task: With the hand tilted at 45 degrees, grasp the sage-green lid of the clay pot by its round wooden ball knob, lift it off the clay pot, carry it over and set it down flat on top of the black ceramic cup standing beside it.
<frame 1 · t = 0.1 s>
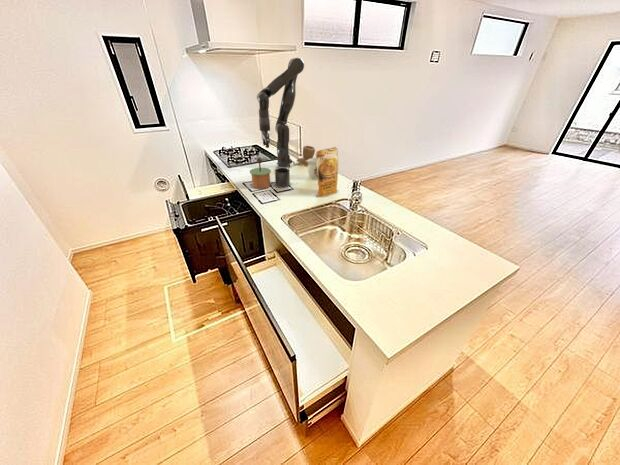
hand: (266, 146, 195), 17 cm above the worktop, tool pointing down, fingers open, 8 cm apart
pitcher: (316, 178, 189), on the worktop
clay pot: (261, 185, 174), on the worktop
lid: (260, 171, 169), point 9 cm above the worktop, touching clay pot
pancake mix bag: (326, 193, 165), on the worktop
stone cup: (306, 164, 215), on the worktop
cup: (282, 184, 176), on the worktop
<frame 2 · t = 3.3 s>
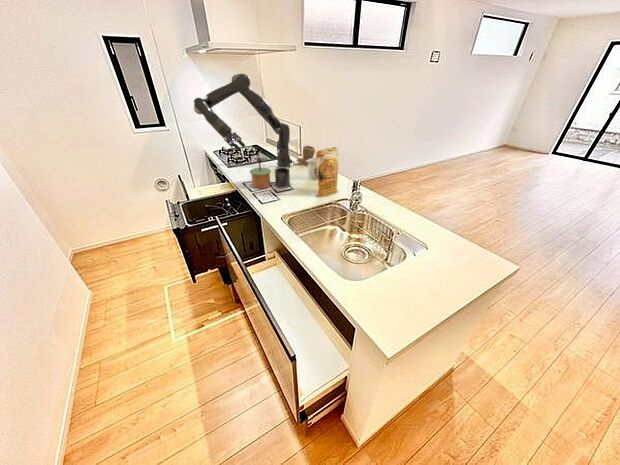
hand: (242, 148, 162), 24 cm above the worktop, tool tilted 45°, fingers open, 8 cm apart
nothing on the worktop moved.
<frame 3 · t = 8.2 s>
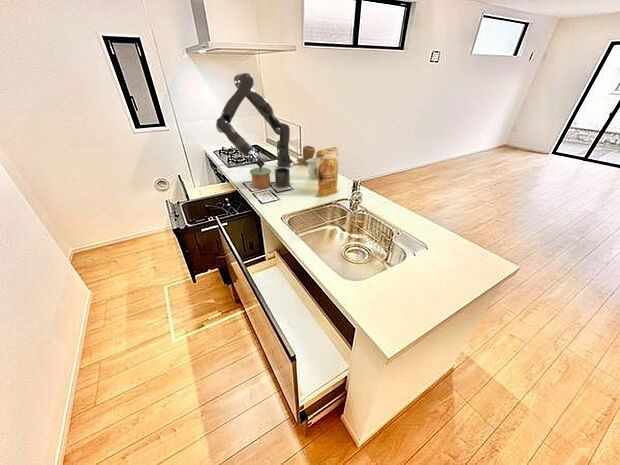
hand: (262, 165, 167), 14 cm above the worktop, tool tilted 45°, fingers closed on lid, 3 cm apart
lid: (260, 171, 169), point 9 cm above the worktop, touching gripper, clay pot
everything else where it was.
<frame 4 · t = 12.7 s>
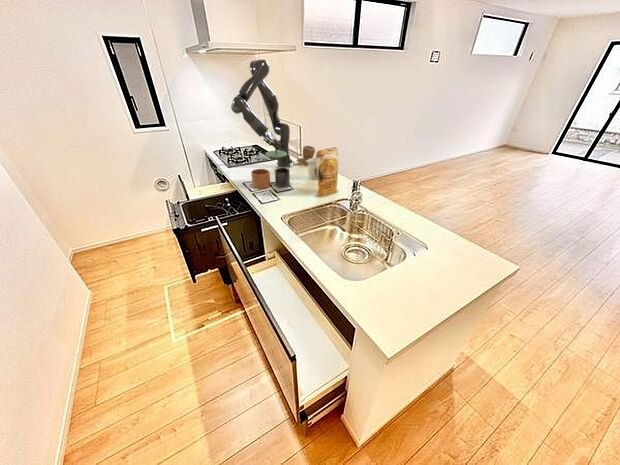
hand: (279, 148, 162), 25 cm above the worktop, tool tilted 45°, fingers closed on lid, 3 cm apart
lid: (276, 154, 165), point 21 cm above the worktop, touching gripper
everything else where it was.
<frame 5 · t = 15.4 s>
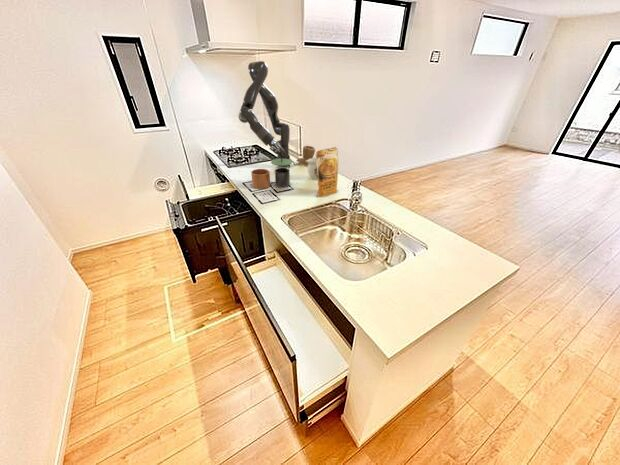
hand: (284, 156, 165), 19 cm above the worktop, tool tilted 45°, fingers closed on lid, 3 cm apart
lid: (281, 162, 168), point 15 cm above the worktop, touching gripper
everything else where it was.
when the fingers open (15 cm above the worktop, at t = 17.4 s): lid stays where it is, resting on cup.
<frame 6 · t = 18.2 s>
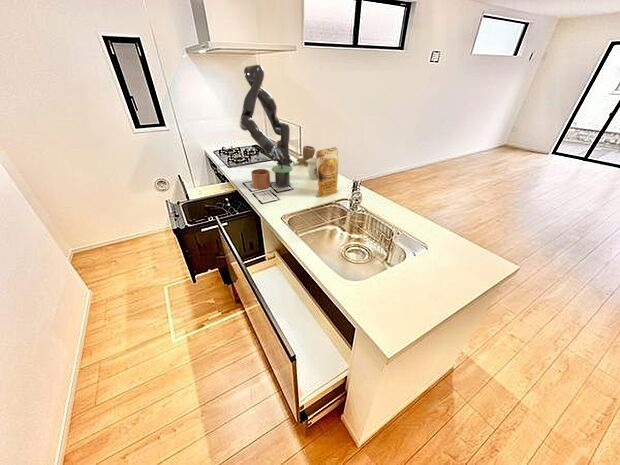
hand: (283, 162, 168), 15 cm above the worktop, tool tilted 45°, fingers open, 8 cm apart
lid: (282, 169, 170), point 11 cm above the worktop, touching cup
everything else where it was.
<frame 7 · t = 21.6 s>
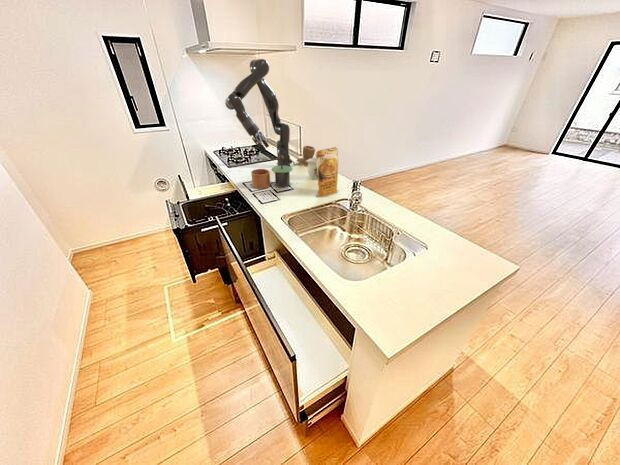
hand: (266, 148, 166), 23 cm above the worktop, tool tilted 35°, fingers open, 8 cm apart
nothing on the worktop moved.
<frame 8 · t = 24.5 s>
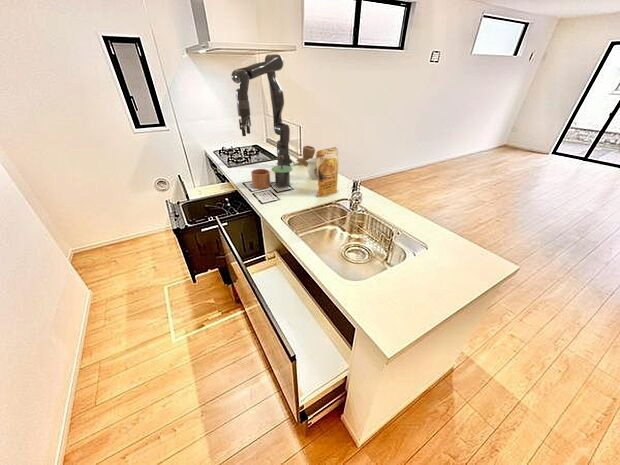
hand: (246, 134, 168), 30 cm above the worktop, tool pointing down, fingers open, 8 cm apart
nothing on the worktop moved.
at the end: lid 0.1 cm off-centre on the cup, point 10.6 cm above the cup's base; lid tilted 0°; the gripper is holding nothing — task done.
